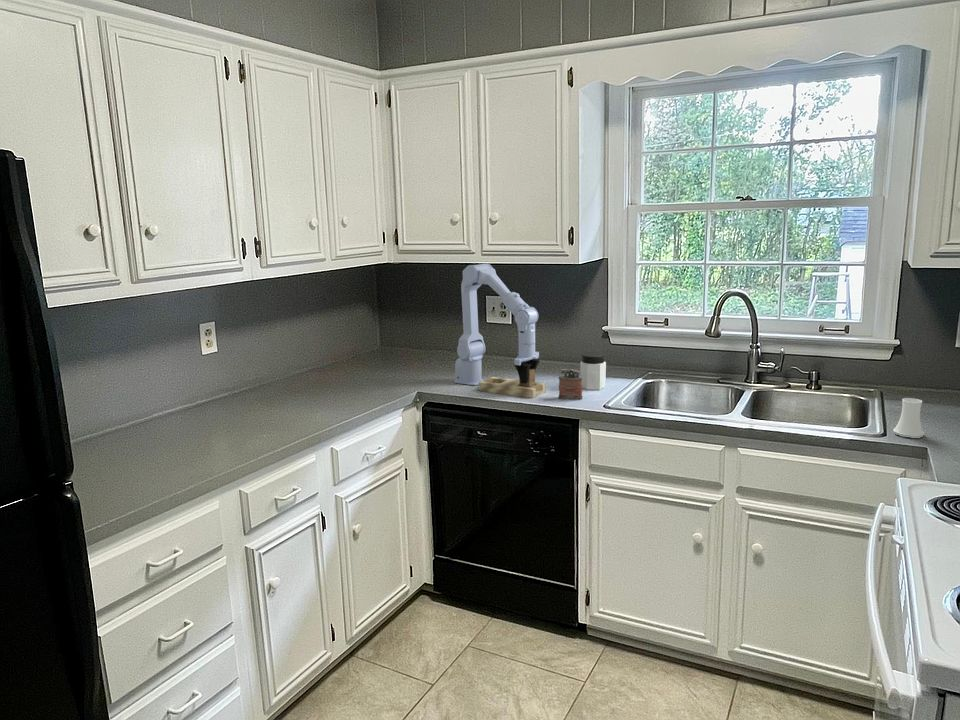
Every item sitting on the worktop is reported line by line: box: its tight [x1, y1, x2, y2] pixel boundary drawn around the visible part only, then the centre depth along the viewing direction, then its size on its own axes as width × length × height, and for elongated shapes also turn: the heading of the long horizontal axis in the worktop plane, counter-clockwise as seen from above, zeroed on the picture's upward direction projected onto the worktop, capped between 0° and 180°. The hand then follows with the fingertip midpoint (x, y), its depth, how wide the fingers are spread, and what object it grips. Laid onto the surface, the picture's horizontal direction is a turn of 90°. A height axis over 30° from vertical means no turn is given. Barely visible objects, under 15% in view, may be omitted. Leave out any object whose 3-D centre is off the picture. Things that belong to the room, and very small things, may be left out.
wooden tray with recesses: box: [478, 376, 546, 399], centre depth 258 cm, size 22×10×3 cm, turn 59°
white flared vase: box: [892, 397, 925, 436], centre depth 204 cm, size 8×8×10 cm
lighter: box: [558, 368, 583, 401], centre depth 247 cm, size 8×3×10 cm, turn 74°
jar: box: [579, 351, 607, 391], centre depth 261 cm, size 9×8×12 cm
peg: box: [518, 368, 536, 388], centre depth 255 cm, size 4×4×8 cm
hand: (527, 381), depth 255 cm, fingers open, 4 cm apart
